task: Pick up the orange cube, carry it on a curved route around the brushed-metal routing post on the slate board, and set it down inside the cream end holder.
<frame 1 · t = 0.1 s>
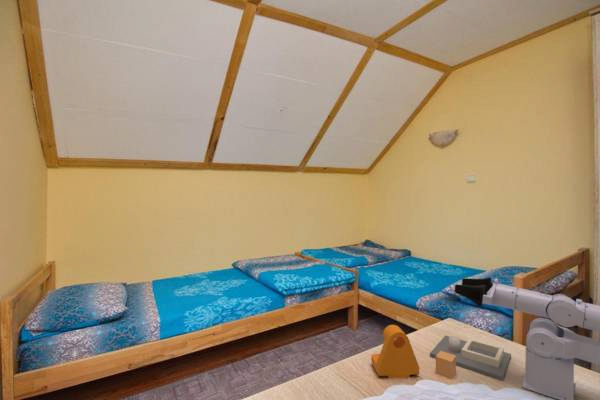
hand: (458, 285, 88), 22 cm above the table, tool horizontal, fingers open, 7 cm apart
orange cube: (445, 372, 82), on the table
bracket: (393, 370, 83), on the table
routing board: (470, 356, 90), on the table
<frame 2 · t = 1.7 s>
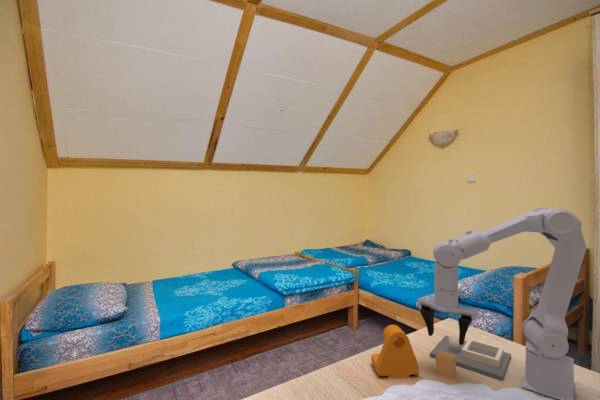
hand: (445, 338, 82), 9 cm above the table, tool pointing down, fingers open, 7 cm apart
nothing on the table moved.
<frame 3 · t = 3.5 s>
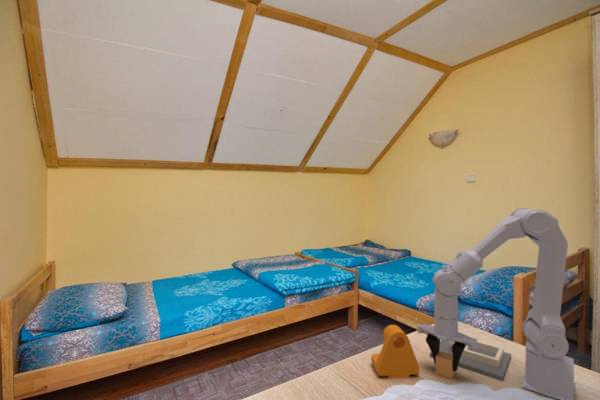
hand: (445, 366, 82), 2 cm above the table, tool pointing down, fingers closed on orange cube, 4 cm apart
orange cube: (445, 372, 82), on the table, touching gripper
everything else where it was.
when the fingers open (4 cm above the table, at t = 8.2 s): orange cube stays where it is, resting on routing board.
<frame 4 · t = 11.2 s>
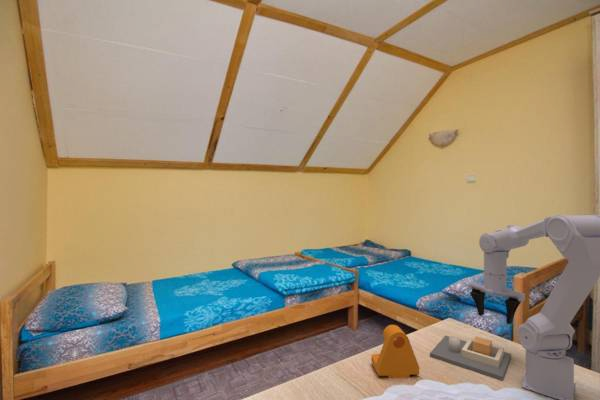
hand: (494, 318, 91), 10 cm above the table, tool pointing down, fingers open, 7 cm apart
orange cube: (482, 356, 88), point 1 cm above the table, touching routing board
everything else where it was.
at the end: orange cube 0.7 cm from the target spot on the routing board, point 1.0 cm above the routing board's base; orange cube tilted 0°; the gripper is holding nothing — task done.
